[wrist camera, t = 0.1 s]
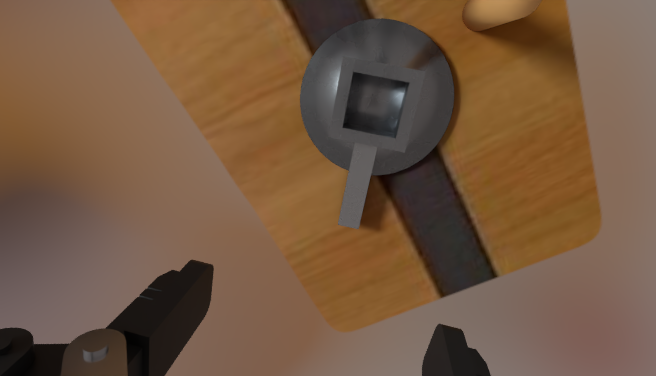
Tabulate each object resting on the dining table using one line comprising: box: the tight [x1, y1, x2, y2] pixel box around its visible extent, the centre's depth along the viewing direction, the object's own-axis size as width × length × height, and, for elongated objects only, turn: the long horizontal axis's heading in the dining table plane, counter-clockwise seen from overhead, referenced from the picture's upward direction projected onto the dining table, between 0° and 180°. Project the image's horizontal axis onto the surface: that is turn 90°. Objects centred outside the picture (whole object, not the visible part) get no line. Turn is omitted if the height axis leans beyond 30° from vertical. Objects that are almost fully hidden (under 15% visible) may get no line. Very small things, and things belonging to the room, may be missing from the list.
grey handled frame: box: [300, 19, 454, 229], centre depth 37 cm, size 22×16×4 cm
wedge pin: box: [462, 0, 541, 31], centre depth 29 cm, size 3×3×10 cm
